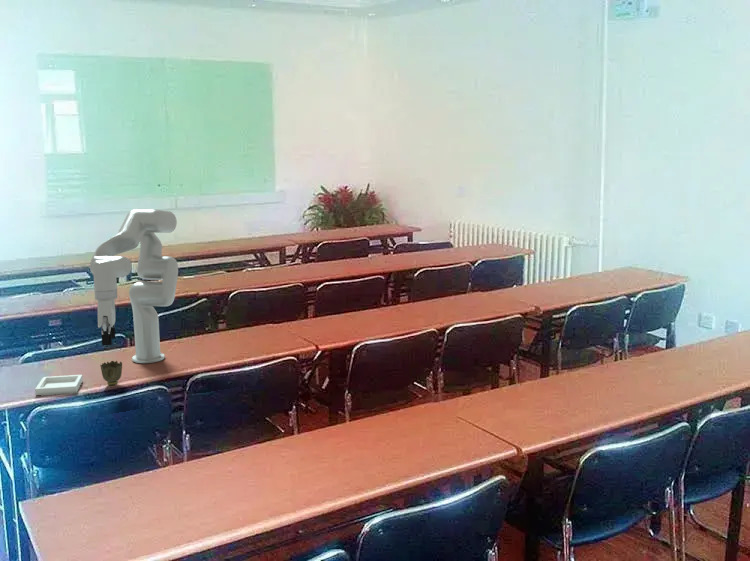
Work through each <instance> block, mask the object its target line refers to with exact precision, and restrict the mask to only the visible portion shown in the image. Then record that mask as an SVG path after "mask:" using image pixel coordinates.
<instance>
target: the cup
mask: <svg viewBox="0 0 750 561" xmlns="http://www.w3.org/2000/svg"><path fill="white" fill-rule="evenodd" d="M100 369H101V375H102V378H103V380H104V381H105V382H106V384H107V386H110V387H114V386H117V385H118V384H119V380H120V379H121V377H122V373H123V372H122V371H123V362H122V361H119V362H118V361H117V360H115V361H114V360H111V361H110V362H109V361H107V362H104V363H103V362H102V363H101V364H100Z"/></svg>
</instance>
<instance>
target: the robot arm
mask: <svg viewBox="0 0 750 561" xmlns="http://www.w3.org/2000/svg"><path fill="white" fill-rule="evenodd" d="M177 224H178V222H177V218H176V215H175V214H174V213H173V211H168V210H161V209H143V208H142V209H140V208H137V209H131V210H130V211H129V212H128V213H127V214H126V216H125V218H124V220H123V222H122V225H121V226H120V228H119V230H118V232H117V234H115V235H113V236H112V237H110V238H108V239H107V240H105V241H104V242H102V243H101V244H99V246H97V248H96V249H95V251H94V253H93V254H92V257H91V259H90V263H89V270H90V272H91V274H92V275H93V286H94V287H93V288H94V300H95V301H97V327H98V329H101V345H102V346H112V344H113V341H112V339H116V327H115V323H116V306H115V305H116V304H115V302H116V301H115V300H117V299H118V286H117V278H124V277H127V276H129V274H130V273H131V271H132V269H133V264H132V261H131V260H130V258H129V257H126V256H120V254H122V253H123V254H124V253H127V252H128V251H129V252H130V251H133V250H134V249H136V248H137V247H140V248H139V253H138V254H139V255H138V258H137V259H138V261H137V267H136V273H137V276H138V278H140V279H142V280H149V281H138V282H135V283H133V284H131V285H130V287H129V289H128V290H129V291H128V295H129V300H130V304H131V308H132V318H133V331H134V345H135V347H134V348H135V354H134V355H133V356H132V357H131V361H132V362H133V363H137V364H153V363H158V362H161V361H164V360H165V358H166V357H165V354H164V352H163V353H162V352H161V343H160V341H161V340H160V324H159V323H160V322H159V321H160V320H159V314H158V312H157V311H156V309H155V307H169V306H171V305H172V304H173V303H174V301H175V297H176V291H177V289H176V288H177V282H178V276H179V265H178V261H177V260H176V258H174V257H173V256H169V255H168V256H167V255H162V251H163V244H162V241H161V240H160V238H159V237H158V236H157V235H156V233H161V234H164V233H165V234H166V233H167V234H169V233H172V232H174V230H176V227H177ZM139 245H140V246H139ZM118 255H119V256H118ZM150 280H152V281H150ZM153 280H154V281H153ZM161 281H162V282H161Z"/></svg>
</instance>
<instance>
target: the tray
mask: <svg viewBox="0 0 750 561" xmlns="http://www.w3.org/2000/svg"><path fill="white" fill-rule="evenodd" d="M82 381H84V379H83V374H71V375H56V376H55V375H54V376H51V375H50V376H43V377H42V378H41V380H40V381H39V382H38V384H37V386H36V387H35V388H34V392H35V393H34V394H35V396H36V395H41V396H53V395H55V394H56V395H68V394H70V395H71V394H78V391H79V389H80V388H81V386H82V384H83V382H82ZM81 383H82V384H81ZM80 385H81V386H80Z"/></svg>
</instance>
